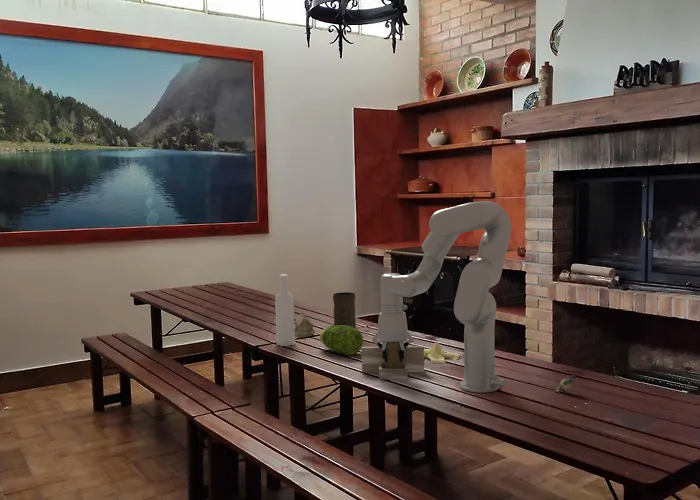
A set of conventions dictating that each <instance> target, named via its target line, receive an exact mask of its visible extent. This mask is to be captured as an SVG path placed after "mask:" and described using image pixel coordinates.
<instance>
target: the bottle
mask: <svg viewBox="0 0 700 500" xmlns="http://www.w3.org/2000/svg"><path fill="white" fill-rule="evenodd" d="M278 277H279V278H278V279H279V280H278V281H279V292H277V294H276V295H275V298H274V300H275V301H274V303H275V304H274V305H275V328H276V329H275V335H276V336H275V337H276V339H275V341H276V346H278V345H280V346H279V347H283V346H285V347H291V346H290V345H292V346H295V344H296V336H295V324H294V322H295V302H294V297H293V294H292V293H291V292H290V291H289V275H288V274H286V273H285V274H279V275H278Z"/></svg>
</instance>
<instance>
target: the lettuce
mask: <svg viewBox="0 0 700 500" xmlns="http://www.w3.org/2000/svg"><path fill="white" fill-rule="evenodd" d="M319 340H320V342H321V343H322V344H323V345H324V346H325V347H326V348H328V349H329V350H331V351H334V352H336V353H338V354H340V355H341V354H342V355H345V356H349V357H351V356H354V355H356V354H358V353H359V352H360V351H361V350H362V347H363V344H364V337H363V334H362V333H361V331H360V330H359V329H358V328H357V327H356V328H354V327H352V326H346V325H334V324H332V325H329V326H328V327H326V328H324V329H323V330H322V331H321V332H320V334H319Z"/></svg>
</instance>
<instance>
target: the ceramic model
mask: <svg viewBox="0 0 700 500" xmlns="http://www.w3.org/2000/svg"><path fill="white" fill-rule="evenodd" d="M314 327H315V326H314V323H312V322H311V320H309V318H308V317H307V316H306V314H305V312H301V313H300V314H299V316H298V317H296V319H295V320H294V328H295V337H296V336H298V337H297V338H308V336H309V337H312V335H313V336H314V335H315V332H316V330H315V329H314Z"/></svg>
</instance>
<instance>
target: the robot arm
mask: <svg viewBox="0 0 700 500" xmlns="http://www.w3.org/2000/svg"><path fill="white" fill-rule="evenodd" d="M428 226H429V230H430V231H429V233H428V235H427V236H426V237H425V239H424V241H423V242H422V244H421V249H422V251H423V257H422V260H421V262H420V264H419V265H418V267H417V268H416V270H415V271H414V272H412V273H408V274H404V275H401V274H400V273H398V272H397V273H396V272H393V273H392V272H389V273H388V272H387V273H384V274H382V275H380V303H381V304H380V306H381V307H380V308H381V309H380V310H381V312H379V313H378V319H377V320H378V322H377V333H376V334H375V335H374V337H373V338H372V340H371V341H372V343H373V344H375V345H377V347H380V348H381V349H382V351H383V359H385V362H387V349H386V343H387V342H399V343H400V346H401V347H400V361H401V362H402V359H404V350H405V348H406V347H407V346H409V345H411V343H413V342H414V341H415V339H414V338H413V336H412V335H411V334H410V333H409V331H408V323H407V321H408V320H407V315H406V312H405V310H408V305H406V304H404V298H411V297H414V296H417V295H421V294H423V293H426V292H427V291H428V290H429V289H430V287H431V286H432V285H433V283H434V281H435V280H436V279H437V277H438V275H439V274H440V272H441V270H442V266H443V263H444V260H445V257H446V256H447V254H448V253H449V251H450V249H451V248H452V246H453V245H454V244H455V242H456V241H457V238H458V237H459V235H460V234H464V233H467V232H472V231H476V230H484V232H483V235H482V238H481V240H480V243H479V247H478V250H477V251H478V252H477V254H476V258H475V260H471V261H470V262H469V263H467V264H466V265H465V267H463V270H462V272H461V274H460V278H459V281H458V285H457V289H456V294H455V298H454V304H453V312H454V313H453V314H454V315H455V318H456V320H458V321H459V323H461V324H463V325H464V333H463V338H464V339H463V343H464V344H463V348H464V349H463V350H464V354H463V357H464V360H463V361H464V362H463V363H464V368H463V369H464V371H463V372H464V374H463V375H464V376H463V377H464V379H463V380H461V381H460V382H459V388H461V389H462V390H464V391H467V392H471V393H482V394H483V393H492V392H496V391H498V390H499V389H500V388H505V387H506V383H507V382H506V379H503V378H499V376H498V373H496V372H495V326H496V325H495V324H496V316H497V302H496V299H495V297H494V296H493V294H491V292H489V290H490V289H491V288H493V287H495V286H496V285H497V284H498V283H499V282H500V281H501V277H502V272H503V268H504V264H505V261H506V256H507V250H508V246H509V244H510V237H511V232H512V223H511V219H510V217H509V214H508V212H507V211H506V210H505V209H504V208H503V207H502V206H501V205H500V204H498V203H496V202H494V201H491V200H481V201H473V202H467V203H464V204H460V205H456V206H452V207H449V208H448V207H447V208H443V209H440V210H437V211H435V212H434V213H433V214H432V215H431V216H430V218H429V223H428Z"/></svg>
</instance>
